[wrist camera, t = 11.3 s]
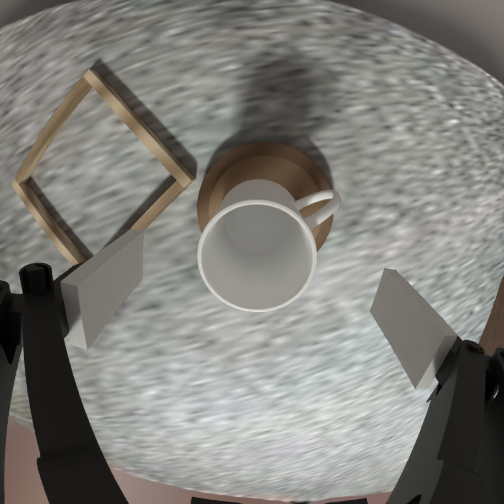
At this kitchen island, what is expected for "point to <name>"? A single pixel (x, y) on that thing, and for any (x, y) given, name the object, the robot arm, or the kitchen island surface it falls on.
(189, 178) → the square wooden frame
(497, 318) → the tissue box cover
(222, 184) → the brown wooden saucer
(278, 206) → the mug
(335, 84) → the kitchen island surface
